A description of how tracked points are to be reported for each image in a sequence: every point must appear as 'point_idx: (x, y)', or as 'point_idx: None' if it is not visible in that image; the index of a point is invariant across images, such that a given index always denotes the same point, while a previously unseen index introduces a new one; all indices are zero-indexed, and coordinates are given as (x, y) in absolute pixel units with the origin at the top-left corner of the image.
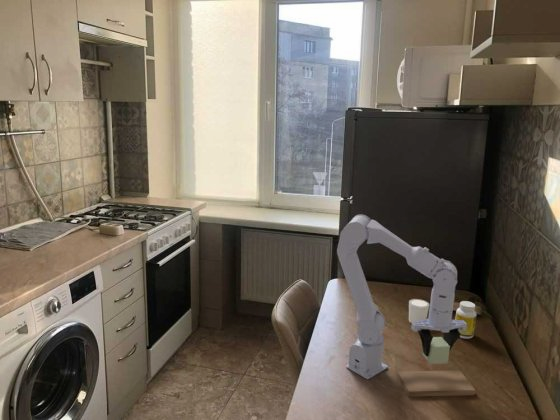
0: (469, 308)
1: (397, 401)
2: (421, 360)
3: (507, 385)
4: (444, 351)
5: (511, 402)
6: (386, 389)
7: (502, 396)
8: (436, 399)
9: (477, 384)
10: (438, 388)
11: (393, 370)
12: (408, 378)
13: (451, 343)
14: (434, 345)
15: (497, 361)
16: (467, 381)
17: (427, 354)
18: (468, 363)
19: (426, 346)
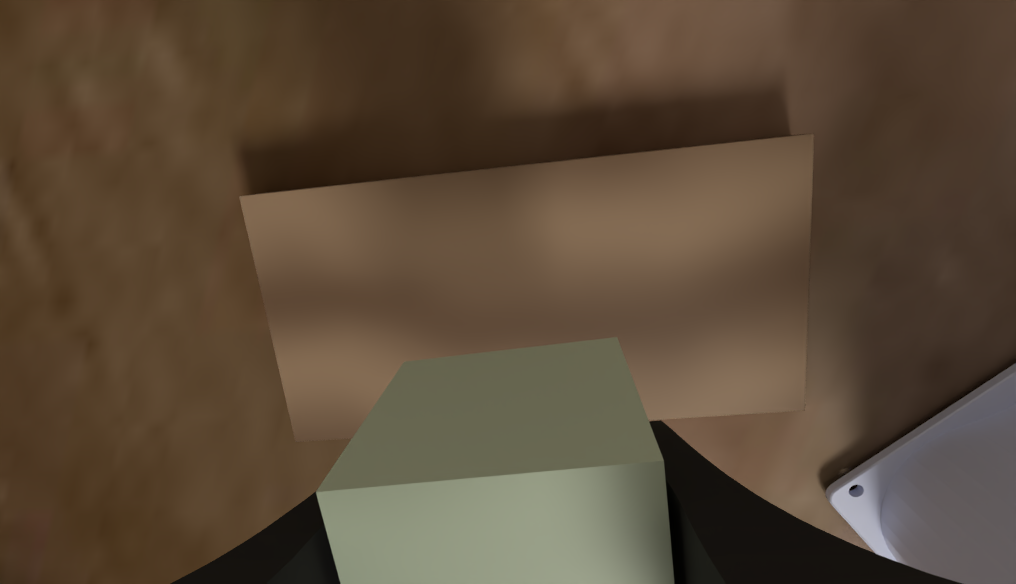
0: None
1: (908, 61)
2: None
3: (13, 321)
4: (427, 433)
5: (23, 124)
6: (939, 220)
7: (71, 192)
8: (568, 116)
9: (212, 322)
10: (533, 198)
11: (785, 460)
12: (745, 320)
13: (267, 552)
14: (595, 512)
15: (28, 572)
16: (273, 305)
17: (660, 427)
18: (217, 549)
19: (749, 490)
